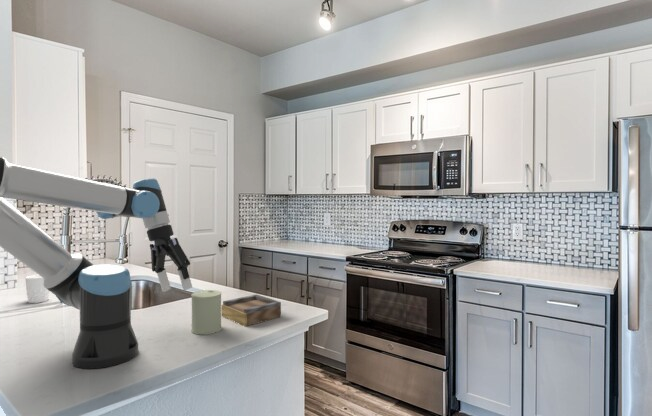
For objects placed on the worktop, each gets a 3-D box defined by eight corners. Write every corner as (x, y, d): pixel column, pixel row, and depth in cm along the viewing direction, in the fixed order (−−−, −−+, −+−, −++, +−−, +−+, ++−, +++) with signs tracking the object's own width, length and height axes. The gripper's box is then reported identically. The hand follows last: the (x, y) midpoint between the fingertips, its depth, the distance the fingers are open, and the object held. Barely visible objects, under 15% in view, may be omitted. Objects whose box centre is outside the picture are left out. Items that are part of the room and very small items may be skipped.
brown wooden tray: (245, 326, 127) (245, 310, 127) (221, 316, 137) (221, 301, 137) (280, 316, 137) (280, 302, 137) (256, 308, 148) (256, 294, 148)
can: (225, 325, 128) (225, 289, 127) (215, 335, 119) (215, 296, 118) (198, 324, 129) (198, 288, 128) (186, 334, 120) (185, 295, 119)
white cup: (28, 299, 158) (28, 275, 158) (52, 297, 162) (51, 273, 161) (23, 304, 151) (23, 279, 151) (48, 302, 155) (47, 277, 154)
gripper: (189, 218, 120) (208, 283, 121) (151, 229, 136) (168, 287, 137) (166, 223, 114) (187, 292, 115) (130, 234, 130) (148, 295, 131)
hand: (177, 289), depth 126 cm, fingers open, 13 cm apart
